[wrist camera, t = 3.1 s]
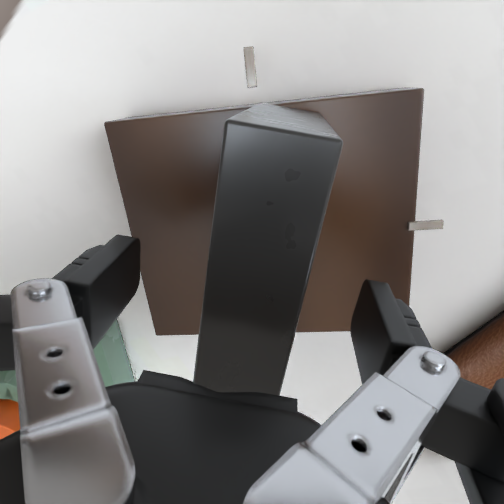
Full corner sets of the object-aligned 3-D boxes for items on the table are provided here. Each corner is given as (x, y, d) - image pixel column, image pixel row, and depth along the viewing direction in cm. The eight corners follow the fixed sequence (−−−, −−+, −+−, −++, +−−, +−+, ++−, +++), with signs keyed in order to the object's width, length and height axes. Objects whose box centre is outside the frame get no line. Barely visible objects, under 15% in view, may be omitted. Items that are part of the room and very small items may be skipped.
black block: (259, 102, 15) (222, 119, 8) (321, 112, 15) (346, 140, 7) (224, 326, 20) (179, 476, 12) (271, 336, 20) (256, 492, 12)
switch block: (117, 319, 23) (84, 362, 20) (150, 436, 27) (128, 490, 24) (-53, 324, 25) (-113, 365, 21) (1, 433, 29) (-41, 483, 25)
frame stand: (438, 29, 16) (464, 19, 13) (413, 334, 22) (428, 366, 19) (94, 72, 18) (62, 70, 15) (159, 340, 24) (143, 369, 21)
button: (39, 397, 22) (19, 422, 20) (62, 451, 23) (45, 478, 22) (-29, 397, 22) (-53, 421, 21) (-1, 450, 24) (-22, 476, 22)
